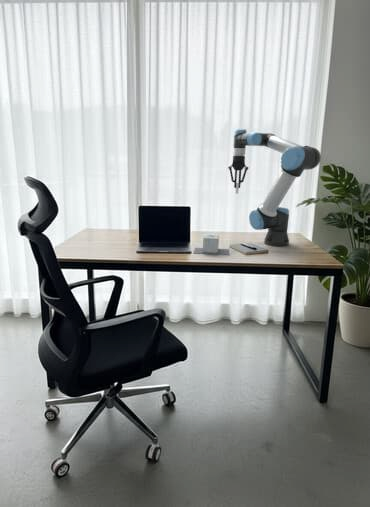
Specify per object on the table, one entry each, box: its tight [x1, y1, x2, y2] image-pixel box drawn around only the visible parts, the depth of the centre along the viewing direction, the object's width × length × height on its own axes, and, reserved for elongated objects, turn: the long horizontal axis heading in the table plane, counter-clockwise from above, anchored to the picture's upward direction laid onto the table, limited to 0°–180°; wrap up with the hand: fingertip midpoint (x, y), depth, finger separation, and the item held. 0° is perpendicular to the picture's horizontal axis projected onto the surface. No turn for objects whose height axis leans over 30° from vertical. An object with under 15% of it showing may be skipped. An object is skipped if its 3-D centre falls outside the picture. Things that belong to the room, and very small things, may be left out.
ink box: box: [202, 233, 220, 253], centre depth 210 cm, size 9×9×12 cm
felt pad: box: [193, 247, 231, 256], centre depth 210 cm, size 20×12×1 cm, turn 84°
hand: (236, 193), depth 237 cm, fingers closed
